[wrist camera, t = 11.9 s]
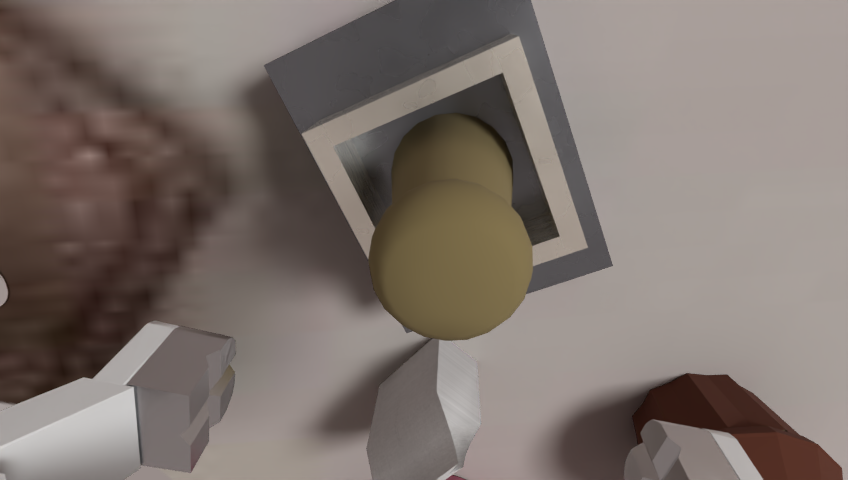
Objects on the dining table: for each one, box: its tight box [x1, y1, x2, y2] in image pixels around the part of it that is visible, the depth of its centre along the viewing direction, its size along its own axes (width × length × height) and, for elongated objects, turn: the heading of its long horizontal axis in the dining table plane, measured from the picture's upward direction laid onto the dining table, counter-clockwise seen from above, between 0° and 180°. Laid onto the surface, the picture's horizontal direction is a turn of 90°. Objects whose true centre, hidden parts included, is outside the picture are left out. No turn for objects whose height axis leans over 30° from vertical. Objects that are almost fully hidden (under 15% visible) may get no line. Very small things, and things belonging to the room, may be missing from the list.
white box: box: [366, 338, 481, 480], centre depth 31 cm, size 4×7×10 cm, turn 139°
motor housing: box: [264, 0, 613, 333], centre depth 25 cm, size 16×12×8 cm
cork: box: [368, 113, 533, 341], centre depth 19 cm, size 6×6×11 cm
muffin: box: [632, 373, 843, 480], centre depth 31 cm, size 12×11×10 cm
